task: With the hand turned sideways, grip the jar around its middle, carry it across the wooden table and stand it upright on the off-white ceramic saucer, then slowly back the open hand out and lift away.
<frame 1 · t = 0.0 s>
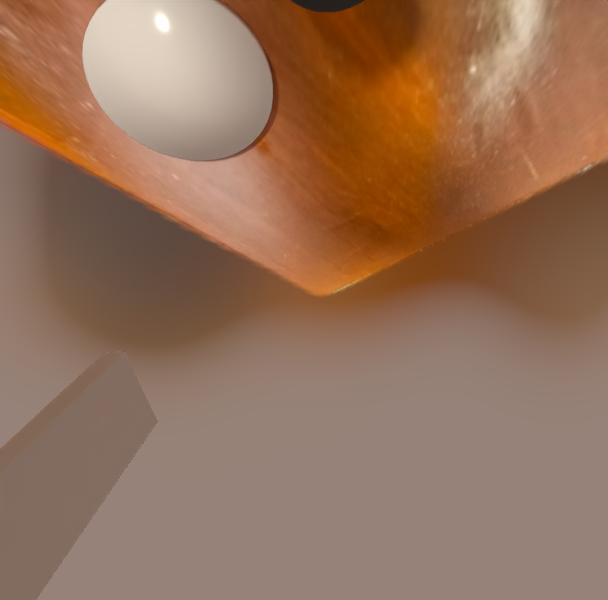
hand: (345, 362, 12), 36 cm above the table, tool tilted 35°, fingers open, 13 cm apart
saucer: (183, 83, 43), on the table
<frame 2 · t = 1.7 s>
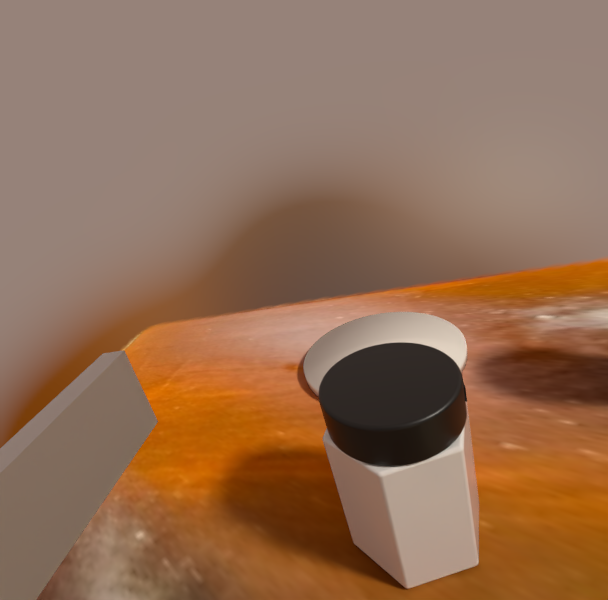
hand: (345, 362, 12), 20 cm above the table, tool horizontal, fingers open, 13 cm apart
jar: (417, 525, 29), on the table
saucer: (382, 357, 48), on the table
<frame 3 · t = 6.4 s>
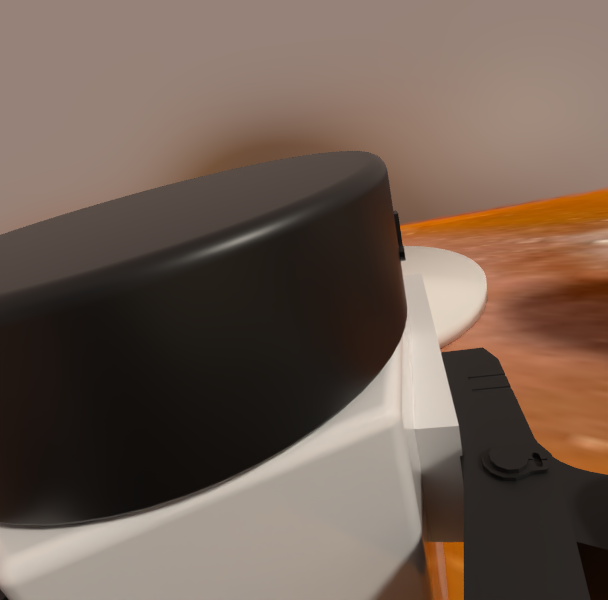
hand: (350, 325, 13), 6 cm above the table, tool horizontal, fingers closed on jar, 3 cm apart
saucer: (351, 304, 30), on the table
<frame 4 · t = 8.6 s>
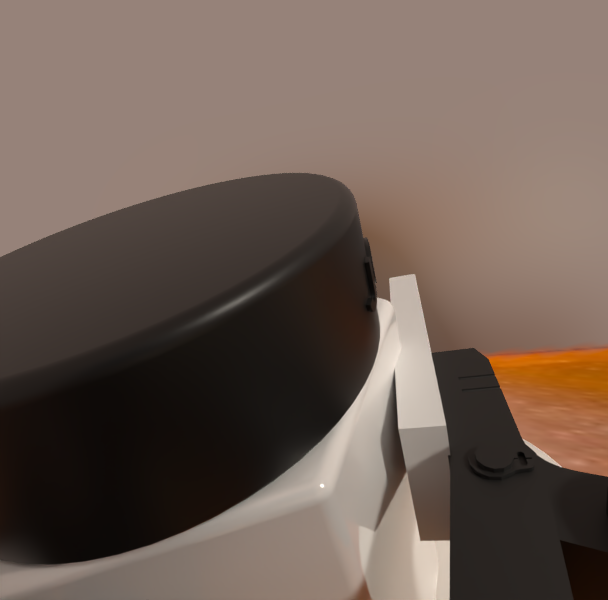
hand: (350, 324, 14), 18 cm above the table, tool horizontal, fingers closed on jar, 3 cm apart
saucer: (430, 526, 26), on the table
when the fingers open (7 cm above the table, at t = 11.2 s): jar stays where it is, resting on saucer.
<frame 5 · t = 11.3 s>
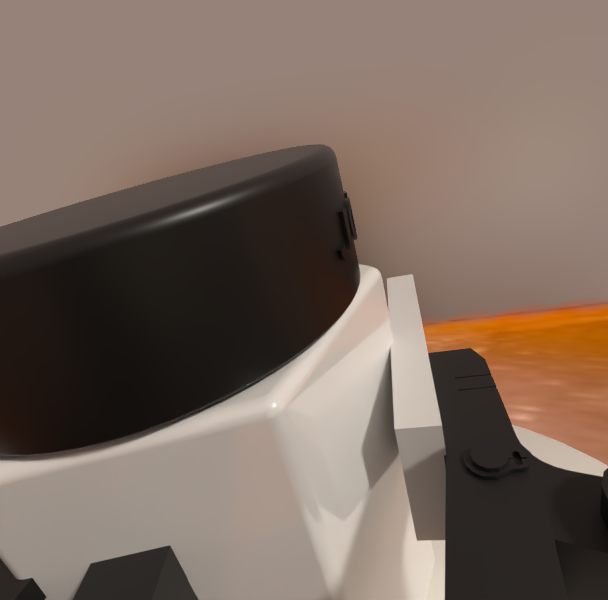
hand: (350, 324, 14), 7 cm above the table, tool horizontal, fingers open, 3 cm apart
jar: (289, 599, 13), point 1 cm above the table, touching saucer
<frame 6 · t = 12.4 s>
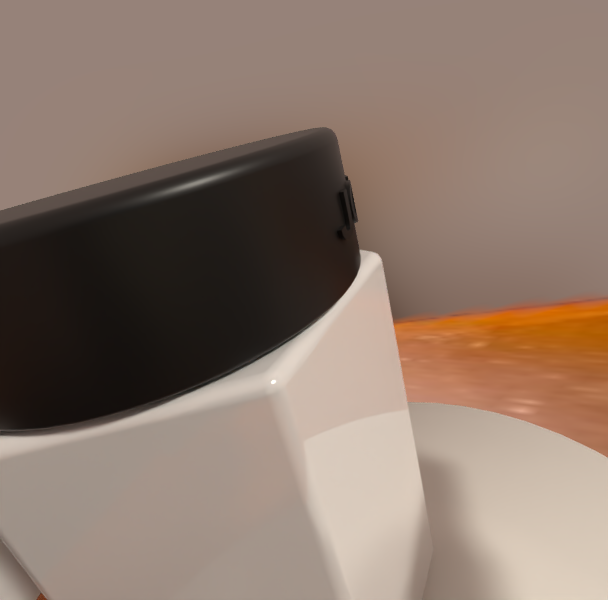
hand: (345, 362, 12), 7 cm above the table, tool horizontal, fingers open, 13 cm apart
jar: (288, 587, 13), point 1 cm above the table, touching saucer
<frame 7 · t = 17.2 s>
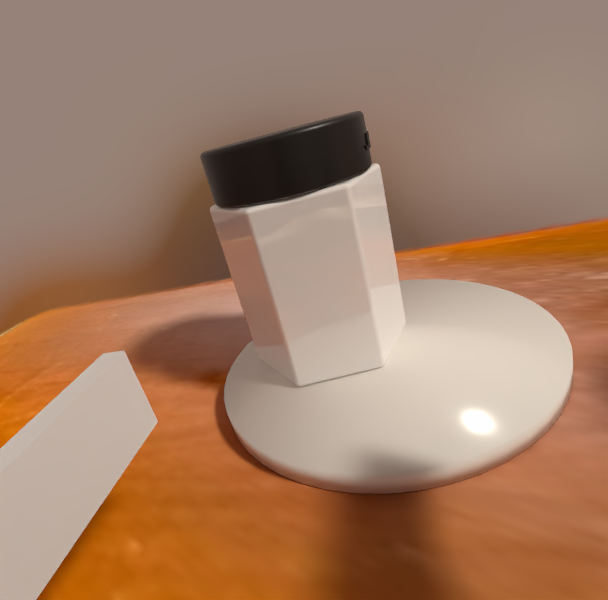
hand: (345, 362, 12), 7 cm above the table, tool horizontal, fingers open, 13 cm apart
jar: (333, 345, 25), point 1 cm above the table, touching saucer
saucer: (383, 361, 24), on the table
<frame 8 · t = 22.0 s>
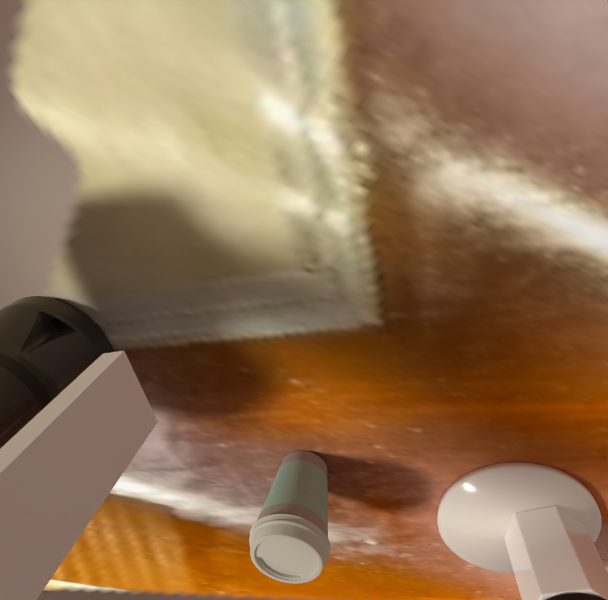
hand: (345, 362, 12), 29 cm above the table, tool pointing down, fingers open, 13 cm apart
jar: (542, 529, 50), point 1 cm above the table, touching saucer
saucer: (514, 517, 51), on the table
coffee cup: (304, 466, 53), on the table
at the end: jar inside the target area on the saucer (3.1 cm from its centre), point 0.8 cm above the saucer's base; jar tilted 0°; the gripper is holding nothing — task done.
